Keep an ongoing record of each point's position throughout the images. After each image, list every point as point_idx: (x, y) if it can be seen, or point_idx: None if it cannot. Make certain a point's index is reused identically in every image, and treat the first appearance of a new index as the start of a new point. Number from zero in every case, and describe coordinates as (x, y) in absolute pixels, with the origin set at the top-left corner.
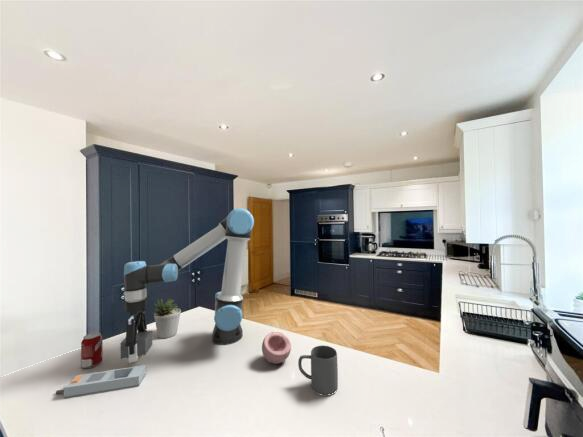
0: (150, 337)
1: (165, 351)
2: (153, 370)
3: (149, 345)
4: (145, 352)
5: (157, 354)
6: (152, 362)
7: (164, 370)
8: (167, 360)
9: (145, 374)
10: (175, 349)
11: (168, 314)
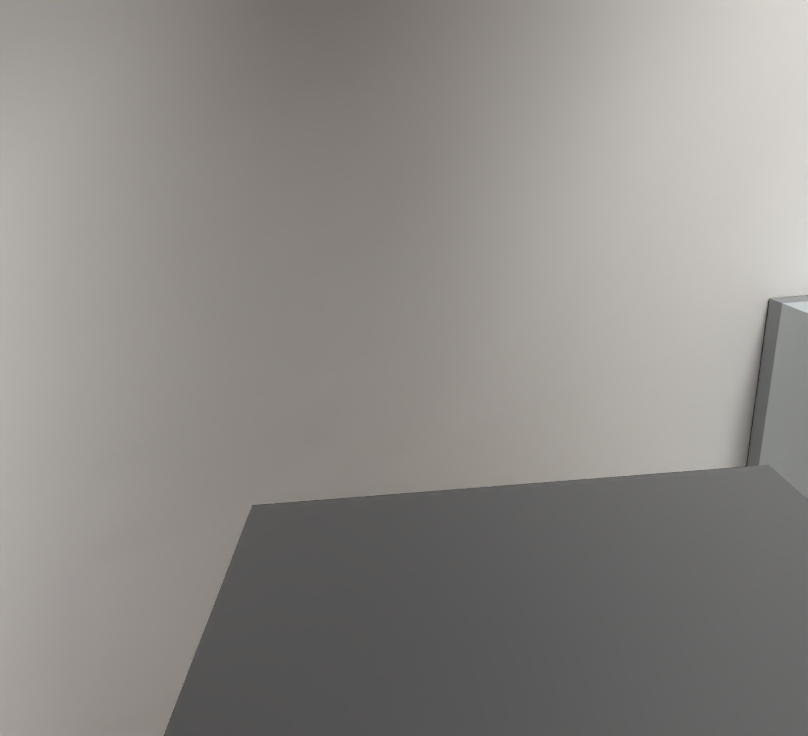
0: (373, 723)
1: (86, 236)
2: (696, 217)
3: (492, 542)
4: (800, 498)
5: (186, 341)
6: (436, 327)
7: (772, 7)
8: (426, 74)
9: (780, 298)
10: (6, 46)
11: None
